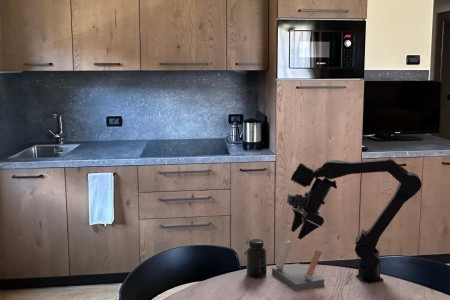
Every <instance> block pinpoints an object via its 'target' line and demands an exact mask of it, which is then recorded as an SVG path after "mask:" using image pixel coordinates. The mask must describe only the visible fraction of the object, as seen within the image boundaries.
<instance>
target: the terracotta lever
mask: <svg viewBox="0 0 450 300" xmlns="http://www.w3.org/2000/svg"><path fill="white" fill-rule="evenodd" d="M322 255H323V254H322V250H321V249H319V248H317V249H315V250H314V254H313V257H312V259H311V261H310V264H309V266H308V268H307V269H308V271H307V273H306V274H305V275H304V277H305V278H306V279H308V280H309V281H311V280H312V279H313V277H312V276H313V273H315V270H316V269H317V268H316V267H317V265H318V263H319V260H320V258H321V256H322Z"/></svg>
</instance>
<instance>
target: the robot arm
mask: <svg viewBox="0 0 450 300" xmlns="http://www.w3.org/2000/svg"><path fill="white" fill-rule="evenodd" d="M385 172H387V173H389V175H391V176H392V177H393V179H395V180H397V182H398V184H397V186H396V189H395V192H394V194H393V195H392V197H391V198H390V200H389V201H388V203H387V204H386V205H385V207H384V208H383V210H382V211H381V212H380V214H379V215H378V217H377V218H376V219H375V221H374V222H373V224H372V225H371V227H370V228H369V229H367V230H365V229H364V228H362V229H361V230H360V231H361V232H360V233H359V234H358V236H356V237H355V242H354V244H355V247H354V251H355V254H356V256H357V257H358V258H359V259H360V260H359V264H358V274H355V277H356V278H357V279H360V280H361V281H363V282H365V283H367V284H371V283H376V282H382V281H384V278H383V277H381V261H382V260H380V259H381V258H380V257H381V255H380V250H379V249H377V245H378V242H379V240H380V238H381V236H382V235H383V233H384V232H385V231H386V229H387V228H388V226H389V225H390V223H392V220H394V218H395V217H396V215H397V214H398V213H399V212H400V210H401V208H402V207H403V206H404V205H405V203H407V201H409V200H410V199H411V198H413V197H414V196H415V195H416V194H417V193H418V192H419V191H420V190H421V189H422V180H421V177H420V176H419V175H418V174H417V173H415V172H413V171H408V170H407V169H405V168H404V167H403V166H401V165H400V164H398V162H396V161H395V160H394V159H393V158H389V157H388V158H385V159H372V160H358V161H345V160H338V159H337V160H336V159H330V160H326V161H325V162H324V164H323V165H322V166H320V167H317V168H316V169H315V170H314V169H312V168H310V167H308V166H306V164H304V163H302V162H300V163H299V164H298V166H297V167H296V170H295V171H294V172H293V173H292V175H291V178H290V181H292V182H293V183H296V184H298V185H299V186H301V187H303V188H306V187H310V189H309V190H308V191H305V193H304V194H298V193H297V194H296V193H288V195H287V201H286V202H287V204H288V205H290V206H291V207H292V209H291V210H292V212H293V215H294V216H293V220H292V224H291V228H290V231H291V232H293V233H294V232H296V231H297V229H299V228H300V231H299V233H298V236H297V239H298V240H302V239H304V238H305V237H306V236H308V235H309V234H310V233H312V232H313V231H316V229H318V228H320V227H322V226H323V225H324V224H325V219H324V217H323V216H321V214H320V212H319V211H320V209H321V206H322V205H323V206H325V203H326V201H325V199H326V197H327V196H328V193H329V192H330V190H331V188H333V189H335V190H336V189H338V186H337V181H336V180H333V179H338V178H341V177H345V176H348V175H356V174H368V173H369V174H370V173H371V174H372V173H385ZM322 178H323V179H322ZM313 181H314V182H313Z"/></svg>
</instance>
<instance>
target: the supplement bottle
mask: <svg viewBox="0 0 450 300" xmlns="http://www.w3.org/2000/svg"><path fill="white" fill-rule="evenodd" d="M248 244H249V247H248V248H247V249H246V253H245V254H246V275H247V276H248V277H250V278H251V279H261V278H264V277H266V276H267V272H268V271H267V269H268V268H267V249H266V248H265V247H264V240H263V239H262V238H252V239H249V241H248Z"/></svg>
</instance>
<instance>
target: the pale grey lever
mask: <svg viewBox="0 0 450 300" xmlns="http://www.w3.org/2000/svg"><path fill="white" fill-rule="evenodd" d="M292 246H293V242H292V241H291V240H287V241H286V242H285V245H284V247H283V250H282V252H281V254H280V256H279V257H280V258H279V260H278V262H277V263H276V264H275V267H276V268H278V269H279V270H283V266H285V265H284V264H285V261H286V260H287V257H288V254H289V252H290V250H291V248H292Z"/></svg>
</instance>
